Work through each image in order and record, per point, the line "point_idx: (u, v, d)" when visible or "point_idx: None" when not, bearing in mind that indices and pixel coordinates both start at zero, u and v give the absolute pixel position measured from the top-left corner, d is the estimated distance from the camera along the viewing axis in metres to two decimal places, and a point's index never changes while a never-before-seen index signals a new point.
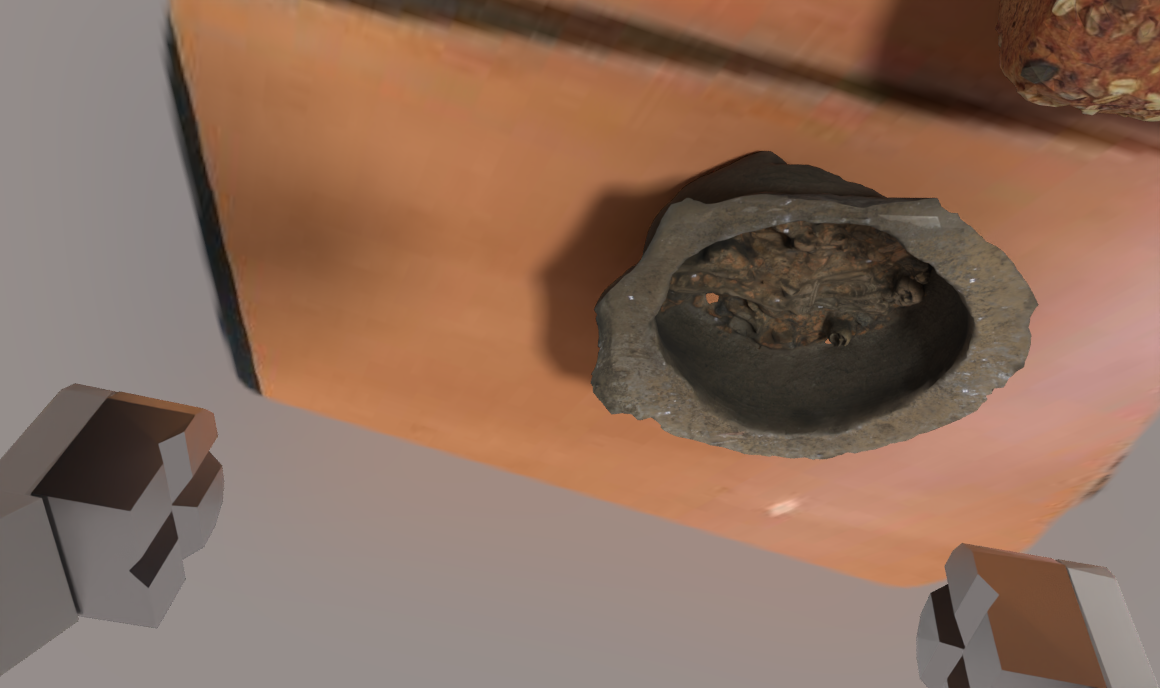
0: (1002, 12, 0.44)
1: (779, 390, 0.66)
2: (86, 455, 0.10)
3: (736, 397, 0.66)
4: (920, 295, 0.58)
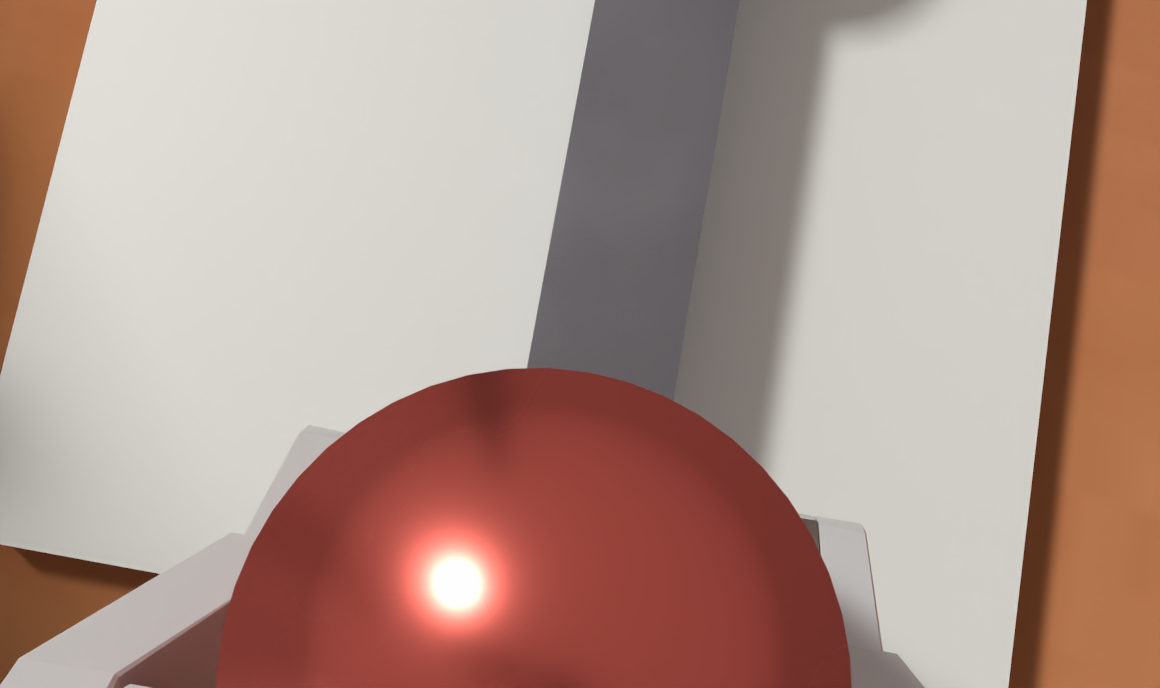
0: None
1: None
2: None
3: None
4: None
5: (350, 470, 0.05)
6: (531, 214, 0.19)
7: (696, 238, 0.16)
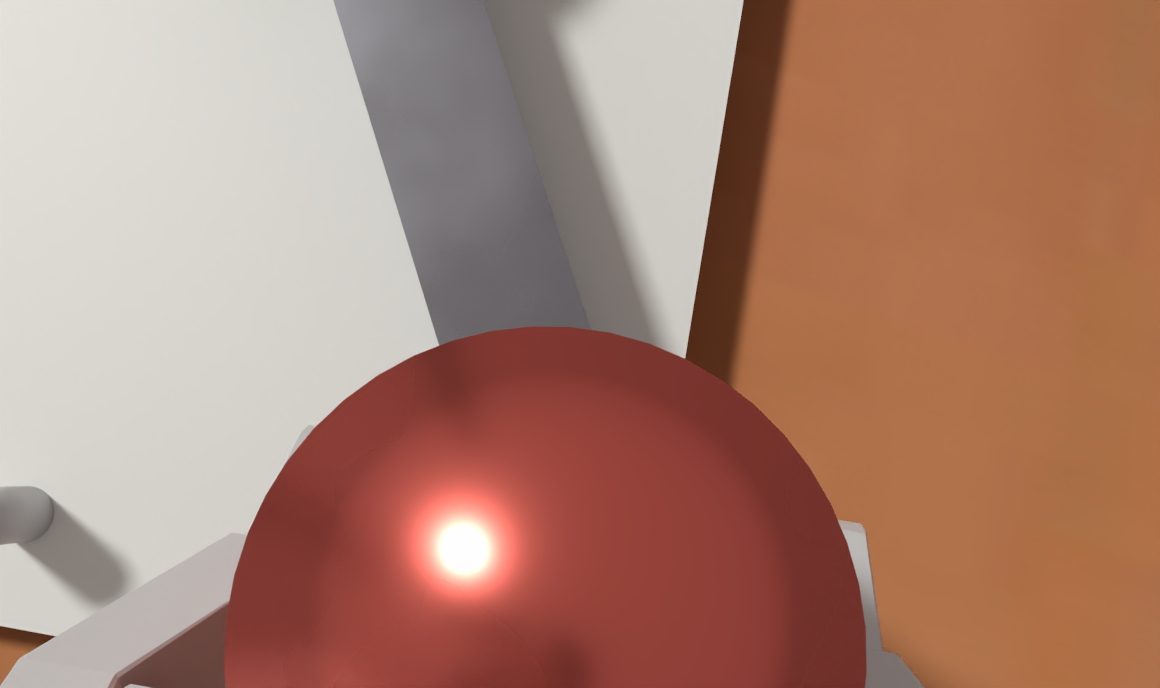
0: None
1: None
2: None
3: None
4: None
5: (278, 542, 0.05)
6: (176, 224, 0.19)
7: (545, 199, 0.16)
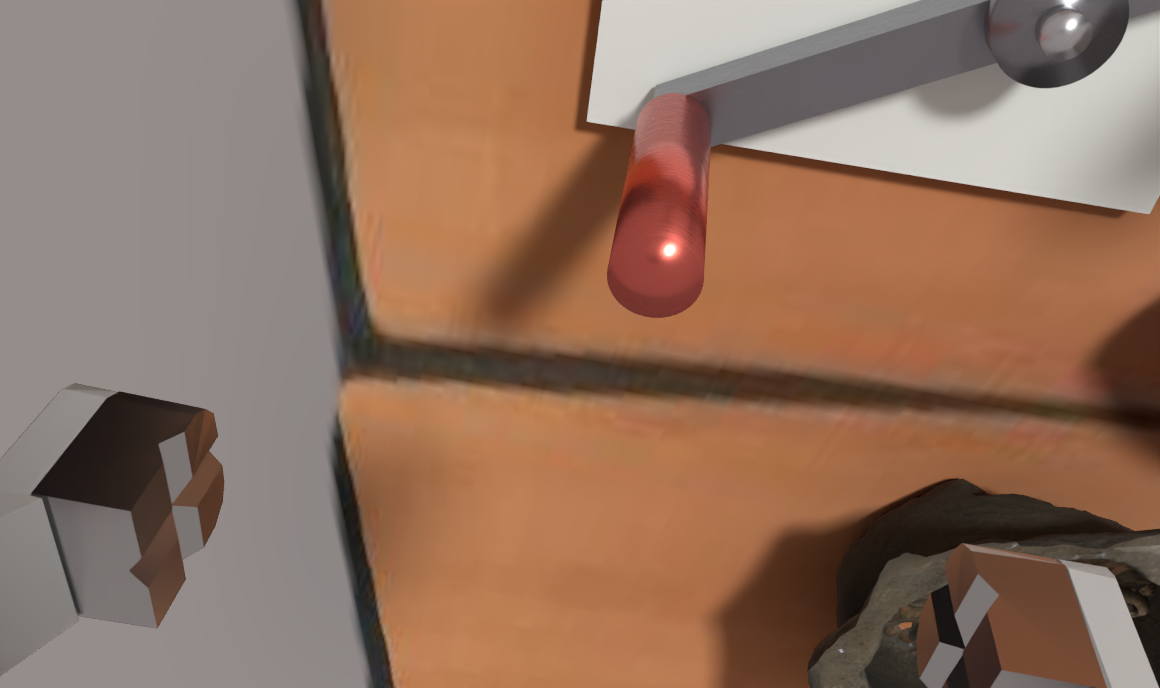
0: None
1: None
2: (86, 455, 0.10)
3: None
4: (1146, 607, 0.54)
5: (669, 243, 0.30)
6: None
7: (809, 117, 0.39)
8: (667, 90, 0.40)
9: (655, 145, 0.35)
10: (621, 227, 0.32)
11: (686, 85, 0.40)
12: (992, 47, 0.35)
